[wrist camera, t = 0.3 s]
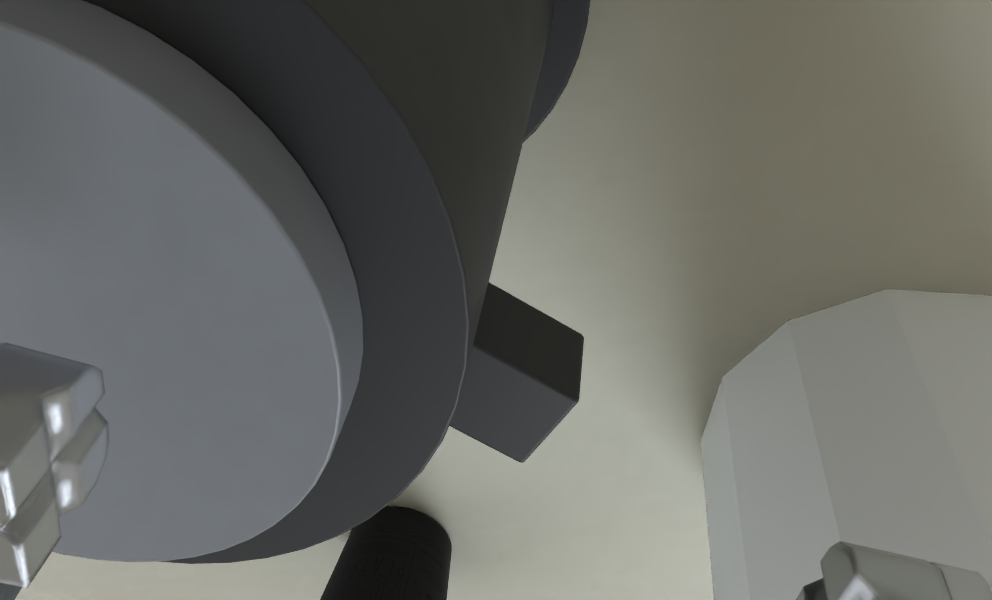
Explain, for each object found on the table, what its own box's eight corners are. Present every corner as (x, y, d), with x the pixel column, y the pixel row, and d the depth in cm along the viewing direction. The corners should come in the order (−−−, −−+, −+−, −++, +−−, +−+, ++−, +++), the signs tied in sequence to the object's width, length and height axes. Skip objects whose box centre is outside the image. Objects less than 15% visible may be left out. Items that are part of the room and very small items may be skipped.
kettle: (241, -455, 22) (-712, -787, 6) (736, -105, 25) (903, 245, 9) (69, 112, 32) (-477, 525, 16) (441, 315, 35) (283, 829, 19)
